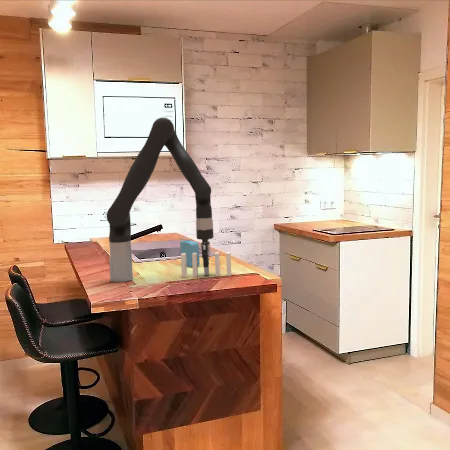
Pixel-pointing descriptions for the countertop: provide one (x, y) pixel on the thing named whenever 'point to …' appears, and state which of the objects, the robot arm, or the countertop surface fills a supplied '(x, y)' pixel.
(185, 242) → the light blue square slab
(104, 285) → the countertop surface
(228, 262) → the domino
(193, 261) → the domino
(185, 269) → the domino
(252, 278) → the countertop surface
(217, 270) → the domino
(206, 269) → the domino
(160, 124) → the robot arm
